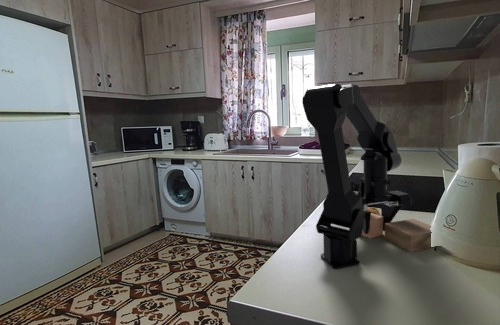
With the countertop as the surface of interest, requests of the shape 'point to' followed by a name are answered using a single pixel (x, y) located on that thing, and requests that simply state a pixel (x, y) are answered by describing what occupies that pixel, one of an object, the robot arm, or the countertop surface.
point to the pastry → (373, 211)
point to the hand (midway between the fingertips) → (374, 232)
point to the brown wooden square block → (409, 234)
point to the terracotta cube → (374, 226)
